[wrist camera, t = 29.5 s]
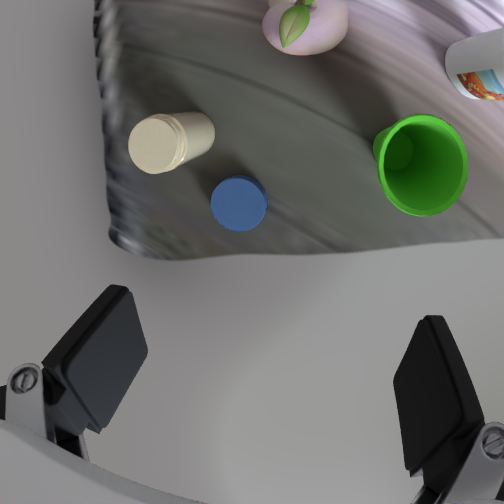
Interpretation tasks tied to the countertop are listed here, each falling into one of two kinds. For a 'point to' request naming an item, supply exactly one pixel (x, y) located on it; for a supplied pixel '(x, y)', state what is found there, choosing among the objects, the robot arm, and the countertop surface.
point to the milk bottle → (478, 65)
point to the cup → (421, 164)
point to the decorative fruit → (305, 25)
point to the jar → (170, 140)
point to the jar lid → (239, 202)
